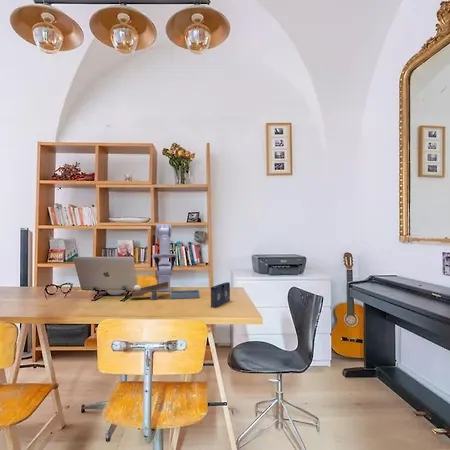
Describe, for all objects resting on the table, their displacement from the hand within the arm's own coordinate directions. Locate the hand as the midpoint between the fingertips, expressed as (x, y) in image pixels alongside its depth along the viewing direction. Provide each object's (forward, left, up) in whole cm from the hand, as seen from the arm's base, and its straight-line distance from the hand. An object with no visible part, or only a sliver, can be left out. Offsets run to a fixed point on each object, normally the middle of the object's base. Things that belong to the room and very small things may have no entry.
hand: (165, 270), depth 198 cm
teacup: (-12, -31, -15) cm, 37 cm away
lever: (0, -8, -11) cm, 14 cm away
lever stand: (+4, -6, -15) cm, 17 cm away
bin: (+4, +11, -15) cm, 19 cm away
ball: (+4, -15, -9) cm, 18 cm away
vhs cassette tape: (+25, +29, -15) cm, 41 cm away
